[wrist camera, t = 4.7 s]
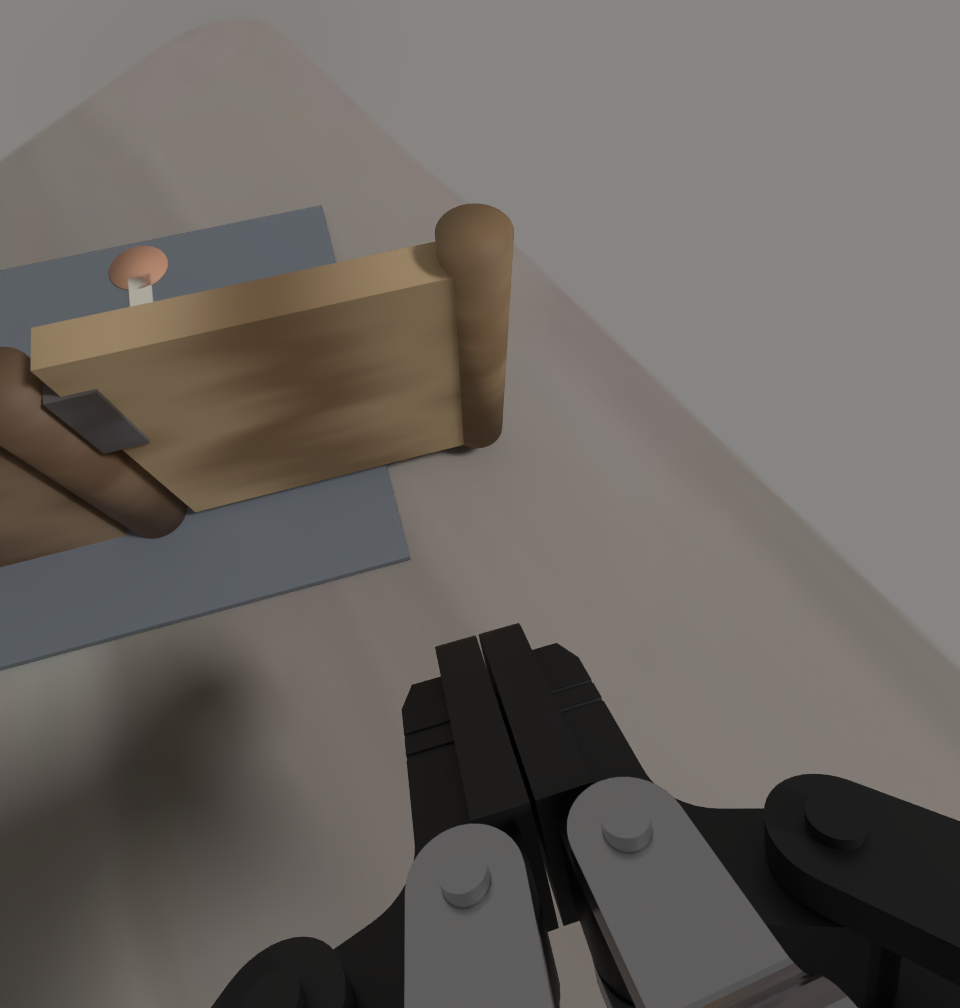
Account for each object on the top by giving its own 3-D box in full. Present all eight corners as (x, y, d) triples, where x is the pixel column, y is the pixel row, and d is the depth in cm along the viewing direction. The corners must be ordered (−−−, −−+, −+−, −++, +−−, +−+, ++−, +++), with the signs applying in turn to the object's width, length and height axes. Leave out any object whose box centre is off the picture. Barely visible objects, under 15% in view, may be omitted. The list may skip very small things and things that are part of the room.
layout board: (-57, 686, 19) (-66, 684, 18) (-30, 282, 25) (-36, 276, 25) (410, 559, 20) (409, 556, 20) (322, 211, 27) (321, 204, 26)
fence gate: (184, 523, 20) (-11, 369, 12) (179, 476, 21) (-8, 302, 13) (508, 441, 21) (524, 252, 13) (494, 399, 22) (500, 197, 14)
